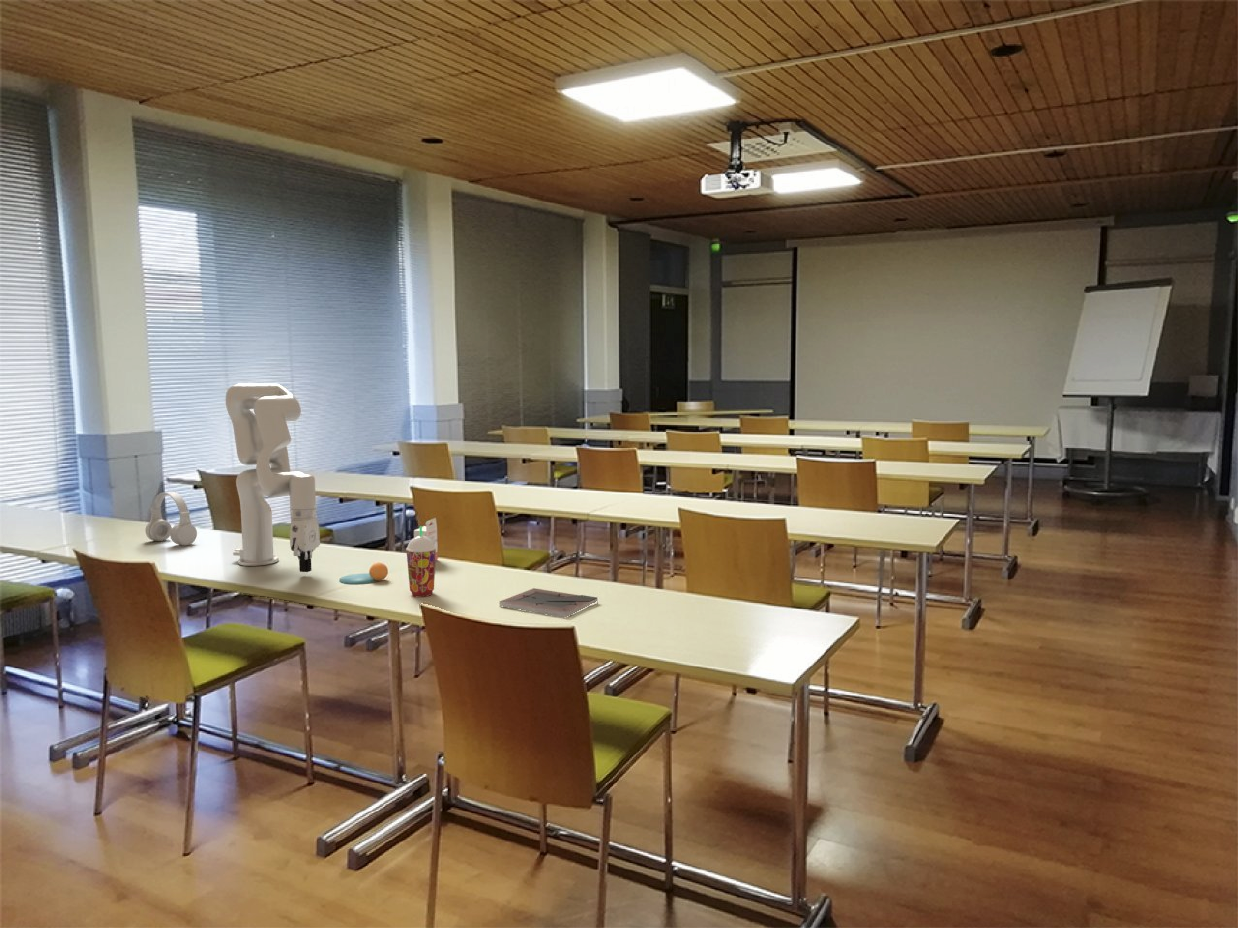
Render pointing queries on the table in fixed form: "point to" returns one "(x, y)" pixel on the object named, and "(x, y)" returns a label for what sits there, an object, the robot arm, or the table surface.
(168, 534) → the headphones
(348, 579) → the disc
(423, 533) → the ink cartridge box
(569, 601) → the grey flat slab
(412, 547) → the smoothie
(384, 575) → the ball
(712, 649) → the table surface
